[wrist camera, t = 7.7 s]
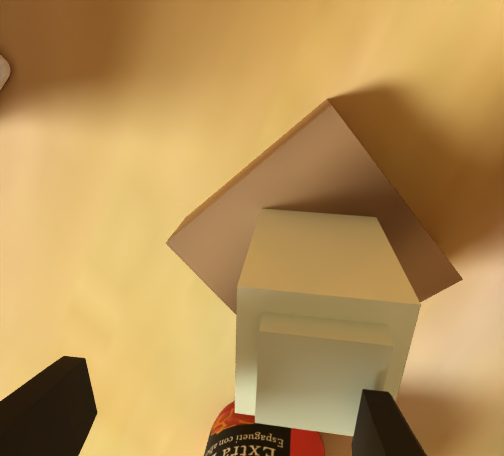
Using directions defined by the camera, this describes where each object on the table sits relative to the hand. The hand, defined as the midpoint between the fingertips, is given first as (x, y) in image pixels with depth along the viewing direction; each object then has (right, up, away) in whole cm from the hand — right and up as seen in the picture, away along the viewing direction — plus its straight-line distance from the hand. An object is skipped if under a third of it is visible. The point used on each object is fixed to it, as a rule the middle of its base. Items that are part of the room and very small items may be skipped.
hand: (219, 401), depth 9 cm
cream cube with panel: (+3, +3, +6) cm, 8 cm away
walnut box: (+4, +4, +9) cm, 11 cm away
